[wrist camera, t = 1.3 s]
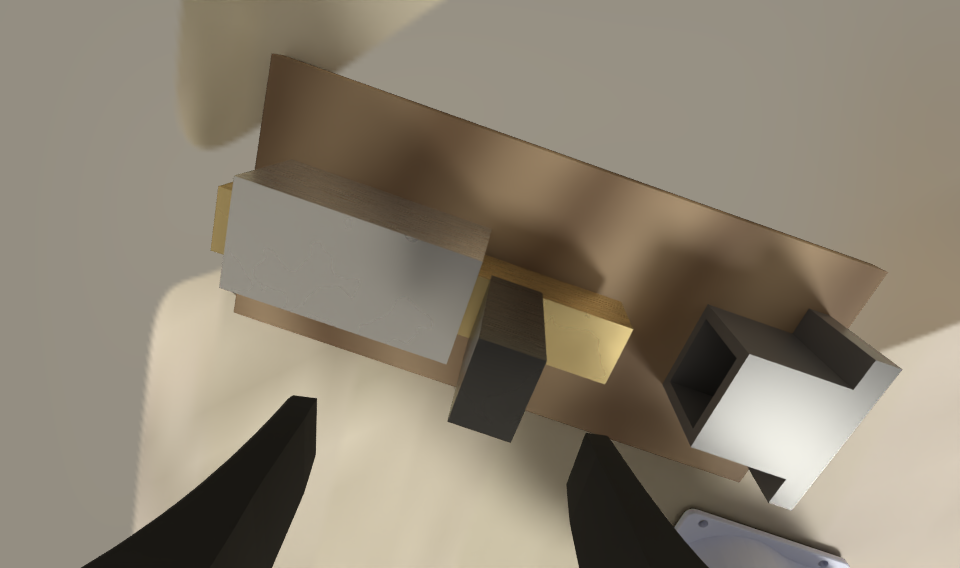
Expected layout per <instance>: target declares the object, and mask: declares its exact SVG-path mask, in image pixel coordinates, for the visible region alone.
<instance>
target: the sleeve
mask: <svg viewBox="0 0 960 568" xmlns="http://www.w3.org/2000/svg"><path fill="white" fill-rule="evenodd" d="M491 230H492V229H490V228H488V227H485V226H482V225H479V224H476V223H473V222H470V221H467V220H465V219H462V218H459V217H456V216H453V215H450V214H447V213H444V212H442V211H439V210H436V209H433V208H430V207H427V206H424V205H422V204H419V203H416V202H413V201H410V200H407V199H404V198H401V197H399V196H396V195H393V194H390V193H387V192H384V191H381V190H378V189H376V188H373V187H370V186H367V185H364V184H361V183H358V182H355V181H353V180H350V179H347V178H344V177H341V176H338V175H335V174H332V173H330V172H327V171H324V170H321V169H318V168H315V167H312V166H310V165H307V164H304V163H301V162H298V161H295V160H292V159H291V160H288V161H284V162H281V163H277V164H274V165H270V166H267V167H263V168H260V169H256V170H253V171H250V172H246V173H242V174H239V175H235V176H234V180H233V188H232V195H231V203H230V210H229V218H228V226H227V233H226V241H225V248H224V256H223V264H222V271H221V279H220V286H219V288H221V289H224V290H227V291H230V292H233V293H236V294H239V295H242V296H245V297H248V298H251V299H254V300H257V301H260V302H263V303H266V304H269V305H272V306H275V307H278V308H281V309H284V310H287V311H290V312H292V313H295V314H298V315H301V316H304V317H307V318H310V319H313V320H316V321H319V322H322V323H325V324H328V325H331V326H334V327H337V328H340V329H343V330H346V331H349V332H352V333H355V334H358V335H361V336H364V337H366V338H369V339H372V340H375V341H378V342H381V343H384V344H387V345H390V346H393V347H396V348H399V349H402V350H405V351H408V352H411V353H414V354H417V355H420V356H423V357H426V358H429V359H432V360H435V361H437V362H440V363H443V364H447V361H448V359H449V356H450V353H451V350H452V347H453V345H454V342H455V339H456V336H457V333H458V330H459V328H460V325H461V322H462V319H463V316H464V313H465V311H466V308H467V305H468V302H469V299H470V297H471V294H472V291H473V288H474V285H475V282H476V280H477V277H478V274H479V271H480V268H481V265H482V263H483V259H484V256H485V252H486V248H487V245H488V241H489V237H490V234H491Z"/></svg>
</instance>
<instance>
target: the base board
mask: <svg viewBox="0 0 960 568" xmlns="http://www.w3.org/2000/svg"><path fill="white" fill-rule="evenodd" d="M291 159H292V160H295V161H298V162H301V163H304V164H307V165H310V166H312V167H315V168H318V169H321V170H324V171H327V172H330V173H332V174H335V175H338V176H341V177H344V178H347V179H350V180H353V181H355V182H358V183H361V184H364V185H367V186H370V187H373V188H376V189H378V190H381V191H384V192H387V193H390V194H393V195H396V196H399V197H401V198H404V199H407V200H410V201H413V202H416V203H419V204H422V205H424V206H427V207H430V208H433V209H436V210H439V211H442V212H444V213H447V214H450V215H453V216H456V217H459V218H462V219H465V220H467V221H470V222H473V223H476V224H479V225H482V226H485V227H488V228H490V229H492V230H491V234H490V237H489V241H488V245H487V248H486V252H485V255H487V256H490V257H493V258H496V259H499V260H502V261H505V262H508V263H511V264H513V265H516V266H519V267H522V268H525V269H528V270H531V271H534V272H537V273H539V274H542V275H545V276H548V277H551V278H554V279H557V280H560V281H562V282H565V283H568V284H571V285H574V286H577V287H580V288H583V289H586V290H588V291H591V292H594V293H597V294H600V295H603V296H606V297H609V298H612V299H614V300H617V301H620V302H622V305H623V307H624V309H625V311H626V314H627V316H628V318H629V321H630V323H631V325H632V327H633V331H632V333H631V335H630V337H629V339H628V341H627V343H626V345H625V347H624V349H623V351H622V352H621V354H620V356H619V358H618V360H617V362H616V364H615V366H614V368H613V370H612V372H611V374H610V376H609V378H608V380H607V382H606V384H602V383H599V382H596V381H593V380H590V379H587V378H584V377H582V376H579V375H576V374H573V373H570V372H567V371H564V370H561V369H558V368H555V367H552V366H549V365H545V367H544V369H543V371H542V373H541V376H540V378H539V380H538V382H537V385H536V387H535V389H534V391H533V394H532V396H531V398H530V400H529V403H528V405H527V407H526V409H525V410H526V411H529V412H532V413H535V414H538V415H541V416H543V417H546V418H549V419H552V420H555V421H558V422H561V423H564V424H567V425H570V426H573V427H576V428H579V429H582V430H585V431H588V432H591V433H594V434H598V435H606V436H608V437H609V439H612V440H615V441H618V442H621V443H624V444H627V445H630V446H633V447H636V448H639V449H642V450H645V451H647V452H650V453H653V454H656V455H659V456H662V457H665V458H668V459H671V460H674V461H677V462H680V463H683V464H686V465H689V466H692V467H695V468H698V469H701V470H704V471H707V472H710V473H713V474H716V475H719V476H722V477H725V478H728V479H731V480H734V481H737V482H740V481H741V479H742V478H743V477H744V475H745V474H746V472H747V471H748V470H749V469H748V467H747V466H745V465H742V464H739V463H736V462H733V461H730V460H728V459H725V458H722V457H719V456H716V455H713V454H710V453H707V452H704V451H701V450H698V449H695V448H692V447H690V444H689V442H688V440H687V438H686V436H685V433H684V431H683V429H682V427H681V424H680V422H679V420H678V418H677V416H676V413H675V411H674V409H673V407H672V405H671V402H670V400H669V398H668V396H667V394H666V391H665V389H664V387H663V385H662V384H663V382H664V380H665V379H666V377H667V375H668V373H669V372H670V370H671V368H672V366H673V365H674V363H675V361H676V359H677V358H678V356H679V354H680V352H681V350H682V349H683V347H684V345H685V343H686V342H687V340H688V338H689V336H690V335H691V333H692V331H693V329H694V328H695V326H696V324H697V322H698V321H699V319H700V317H701V315H702V313H703V312H704V310H705V308H706V306H707V305H708V304H709V305H712V306H714V307H717V308H720V309H723V310H726V311H729V312H732V313H734V314H737V315H740V316H743V317H746V318H749V319H752V320H755V321H757V322H760V323H763V324H766V325H769V326H772V327H775V328H778V329H780V330H783V331H786V332H789V333H793V332H794V330H795V329H796V327H797V326H798V324H799V323H800V321H801V320H802V318H803V317H804V315H805V314H806V312H807V311H808V309H812V310H815V311H818V312H821V313H824V314H826V315H829V316H831V317H833V318H834V319H835V320H837V321H838V322H839V323H841V324H842V325H843V326H845V327H846V328H847V329H848V328H849V327H850V325H851V324H852V322H853V321H854V320H855V318H856V316H857V315H858V314H859V312H860V311H861V310H862V308H863V307H864V306H865V304H866V303H867V301H868V300H869V298H870V297H871V296H872V294H873V293H874V291H875V290H876V289H877V287H878V286H879V284H880V283H881V281H882V280H883V279H884V277H885V276H886V274H887V273H888V272H886V271H884V270H882V269H880V268H878V267H876V266H875V265H873V264H870V263H867V262H864V261H861V260H858V259H856V258H853V257H850V256H847V255H844V254H842V253H839V252H836V251H833V250H830V249H827V248H825V247H822V246H819V245H816V244H813V243H810V242H808V241H805V240H802V239H799V238H797V237H794V236H791V235H788V234H785V233H783V232H780V231H777V230H774V229H771V228H768V227H766V226H763V225H760V224H757V223H754V222H751V221H749V220H746V219H743V218H740V217H737V216H734V215H732V214H729V213H726V212H723V211H721V210H718V209H715V208H712V207H709V206H706V205H703V204H701V203H698V202H695V201H692V200H689V199H687V198H684V197H681V196H678V195H675V194H673V193H670V192H667V191H664V190H661V189H659V188H656V187H653V186H650V185H647V184H644V183H642V182H639V181H636V180H633V179H630V178H627V177H625V176H622V175H619V174H616V173H613V172H611V171H608V170H605V169H602V168H599V167H597V166H594V165H591V164H588V163H585V162H582V161H580V160H577V159H574V158H571V157H569V156H566V155H563V154H560V153H557V152H554V151H552V150H549V149H546V148H543V147H540V146H538V145H535V144H532V143H529V142H526V141H523V140H521V139H518V138H515V137H512V136H509V135H506V134H504V133H501V132H498V131H495V130H492V129H490V128H487V127H484V126H481V125H478V124H476V123H473V122H470V121H467V120H464V119H461V118H458V117H456V116H453V115H450V114H447V113H444V112H442V111H439V110H436V109H433V108H430V107H428V106H425V105H422V104H419V103H416V102H414V101H411V100H408V99H405V98H402V97H399V96H397V95H394V94H391V93H388V92H385V91H382V90H379V89H377V88H374V87H371V86H369V85H366V84H363V83H360V82H357V81H354V80H351V79H349V78H346V77H343V76H340V75H338V74H335V73H332V72H329V71H326V70H324V69H321V68H318V67H315V66H312V65H309V64H307V63H304V62H301V61H298V60H295V59H293V58H290V57H287V56H284V55H278V54H272V56H271V63H270V70H269V76H268V83H267V90H266V97H265V104H264V110H263V117H262V124H261V131H260V138H259V144H258V152H257V158H256V165H255V170H256V169H260V168H263V167H267V166H270V165H274V164H277V163H281V162H284V161H288V160H291ZM234 312H235V313H237V314H240V315H243V316H246V317H249V318H252V319H255V320H258V321H261V322H264V323H267V324H270V325H273V326H276V327H279V328H282V329H285V330H288V331H291V332H294V333H297V334H300V335H303V336H306V337H309V338H312V339H315V340H318V341H321V342H324V343H327V344H330V345H333V346H336V347H338V348H341V349H344V350H347V351H350V352H353V353H356V354H359V355H362V356H365V357H368V358H371V359H374V360H377V361H380V362H383V363H386V364H389V365H392V366H395V367H398V368H401V369H404V370H407V371H410V372H413V373H416V374H419V375H422V376H425V377H428V378H431V379H434V380H437V381H440V382H442V383H445V384H448V385H451V386H454V387H456V385H457V381H458V377H459V373H460V369H461V365H462V361H463V357H464V353H465V349H466V345H467V341H468V339H469V338H467V337H464V336H461V335H458V334H457V336H456V339H455V342H454V345H453V347H452V350H451V353H450V356H449V359H448V361H447V364H443V363H440V362H437V361H435V360H432V359H429V358H426V357H423V356H420V355H417V354H414V353H411V352H408V351H405V350H402V349H399V348H396V347H393V346H390V345H387V344H384V343H381V342H378V341H375V340H372V339H369V338H366V337H364V336H361V335H358V334H355V333H352V332H349V331H346V330H343V329H340V328H337V327H334V326H331V325H328V324H325V323H322V322H319V321H316V320H313V319H310V318H307V317H304V316H301V315H298V314H295V313H292V312H290V311H287V310H284V309H281V308H278V307H275V306H272V305H269V304H266V303H263V302H260V301H257V300H254V299H251V298H248V297H245V296H242V295H239V294H236V300H235V307H234Z"/></svg>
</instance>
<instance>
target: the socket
mask: <svg viewBox="0 0 960 568" xmlns="http://www.w3.org/2000/svg"><path fill="white" fill-rule="evenodd" d="M901 371H902V369H901V368H900V367H898V366H897V365H896V364H894V363H893V362H892V361H890V360H889V359H888V358H886V357H885V356H884V355H882V354H881V353H880V352H878V351H877V350H876V349H874V348H873V347H871V346H870V345H868V344H867V343H866V342H865V341H863V340H862V339H861V338H859V337H858V336H857V335H855V334H854V333H853V332H851V331H850V330H849V329H847V328H846V327H845V326H843V325H842V324H841V323H839V322H838V321H837V320H835V319H834V318H833V317H831V316H829V315H826V314H824V313H821V312H818V311H815V310H812V309H808V311H807V312H806V314H805V315H804V317H803V318H802V320H801V321H800V323H799V324H798V326H797V327H796V329H795V330H794V332H793V333H789V332H786V331H783V330H780V329H778V328H775V327H772V326H769V325H766V324H763V323H760V322H757V321H755V320H752V319H749V318H746V317H743V316H740V315H737V314H734V313H732V312H729V311H726V310H723V309H720V308H717V307H714V306H712V305H709V304H708V305H707V306H706V308H705V310H704V312H703V313H702V315H701V317H700V319H699V321H698V322H697V324H696V326H695V328H694V329H693V331H692V333H691V335H690V336H689V338H688V340H687V342H686V343H685V345H684V347H683V349H682V350H681V352H680V354H679V356H678V358H677V359H676V361H675V363H674V365H673V366H672V368H671V370H670V372H669V373H668V375H667V377H666V379H665V380H664V382H663V384H662V385H663V387H664V389H665V391H666V394H667V396H668V398H669V400H670V402H671V405H672V407H673V409H674V411H675V413H676V416H677V418H678V420H679V422H680V424H681V427H682V429H683V431H684V433H685V436H686V438H687V440H688V442H689V444H690V447H692V448H695V449H698V450H701V451H704V452H707V453H710V454H713V455H716V456H719V457H722V458H725V459H728V460H730V461H733V462H736V463H739V464H742V465H745V466H747V467H748V469H749V470H750V472H751V474H752V475H753V477H754V479H755V481H756V482H757V484H758V486H759V487H760V489H761V491H762V493H763V494H764V496H765V498H766V500H767V501H768V503H770V504H773V505H776V506H779V507H782V508H785V509H788V510H791V511H792V509H793V508H794V507H795V506H796V504H797V503H798V502H799V501H800V499H801V498H802V497H803V495H804V494H805V493H806V492H807V490H808V489H809V488H810V487H811V485H812V484H813V483H814V481H815V480H816V479H817V478H818V476H819V475H820V474H821V473H822V471H823V470H824V469H825V467H826V466H827V465H828V464H829V462H830V461H831V460H832V459H833V457H834V456H835V455H836V453H837V452H838V451H839V450H840V448H841V447H842V446H843V445H844V443H845V442H846V441H847V439H848V438H849V437H850V436H851V434H852V433H853V432H854V431H855V429H856V428H857V427H858V425H859V424H860V423H861V422H862V420H863V419H864V418H865V417H866V415H867V414H868V413H869V411H870V410H871V409H872V408H873V406H874V405H875V404H876V403H877V401H878V400H879V399H880V397H881V396H882V395H883V394H884V392H885V391H886V390H887V389H888V387H889V386H890V385H891V383H892V382H893V381H894V380H895V378H896V377H897V376H898V375H899V373H900V372H901Z"/></svg>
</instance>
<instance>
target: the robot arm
mask: <svg viewBox="0 0 960 568" xmlns="http://www.w3.org/2000/svg"><path fill="white" fill-rule="evenodd" d="M316 418H317V398H310V397H302V396H294V395H293V396H291V397H290V398H288V400H287V401H286V402H285V403H284V404H283V405H282V406H281V407H280V408H279V409H278V411H277V412H276V413H275V414H274V415H273V416H272V417H271V418H270V419H269V420H268V421H267V422H266V423H265V424H264V425H263V426H262V427H261V428H260V429H259V430H258V431H257V433H256V434H255V435H253V436H252V437H251V438H250V439H249V440H248V441H247V442H246V443H245V444H244V445H243V446H242V447H241V448H240V449H239V450H238V451H237V452H236V453H235V454H234V455H233V456H232V457H231V458H229V459H228V460H227V461H226V462H225V463H224V464H223V465H222V466H220V467H219V468H218V469H217V470H216V471H215V472H214V473H212V474H211V475H210V476H209V477H208V478H207V479H206V480H204V481H203V482H202V483H201V484H200V485H198V486H197V487H196V488H195V489H194V490H192V491H191V492H190V493H189V494H187V495H186V496H185V497H184V498H182V499H181V500H180V501H179V502H177V503H176V504H175V505H173V506H172V507H171V508H169V509H168V510H167V511H165V512H164V513H163V514H161V515H160V516H159V517H157V518H156V519H154V520H153V521H152V522H150V523H149V524H147V525H146V526H144V527H143V528H142V529H140V530H139V531H137V532H136V533H134V534H133V535H132V536H130V537H129V538H127V539H126V540H124V541H123V542H121V543H120V544H118V545H117V546H115V547H114V548H112V549H111V550H109V551H107V552H106V553H104V554H102V555H101V556H99V557H98V558H96V559H94V560H93V561H91V562H89V563H88V564H86V565H85V566H83V567H81V568H272V566H273V564H274V562H275V559H276V557H277V555H278V552H279V550H280V548H281V545H282V543H283V541H284V539H285V536H286V534H287V532H288V529H289V527H290V525H291V522H292V520H293V518H294V515H295V513H296V511H297V508H298V506H299V504H300V501H301V499H302V496H303V494H304V491H305V488H306V485H307V482H308V479H309V475H310V472H311V469H312V465H313V462H314V459H315V455H316ZM567 497H568V508H569V518H570V525H571V531H572V535H573V540H574V545H575V550H576V555H577V560H578V564H579V568H850V566H849V565H848V563H847V562H846V560H845V559H843V558H841V557H838V556H835V555H832V554H829V553H826V552H823V551H820V550H817V549H814V548H811V547H808V546H805V545H802V544H799V543H796V542H793V541H790V540H787V539H784V538H781V537H778V536H775V535H772V534H769V533H766V532H763V531H760V530H757V529H754V528H751V527H748V526H745V525H742V524H739V523H736V522H733V521H730V520H727V519H724V518H721V517H718V516H715V515H712V514H709V513H706V512H703V511H700V510H697V509H689V510H687V511H685V512H684V514H683V515H682V517H681V518H680V520H679V521H678V523H677V524H676V526H675V527H673V526H672V524H671V523H670V522H669V521H668V520H667V518H666V517H665V516H664V514H663V513H662V512H661V511H660V509H659V508H658V507H657V505H656V504H655V502H654V501H653V500H652V498H651V497H650V496H649V494H648V493H647V492H646V490H645V489H644V487H643V486H642V485H641V483H640V482H639V480H638V479H637V478H636V476H635V475H634V473H633V472H632V470H631V469H630V468H629V466H628V465H627V463H626V462H625V460H624V459H623V457H622V456H621V454H620V453H619V452H618V450H617V449H616V447H615V446H614V444H613V443H612V441H611V440H610V439H609V437H608V436H606V435H598V434H590V433H586V434H585V436H584V439H583V442H582V444H581V447H580V450H579V452H578V455H577V458H576V460H575V463H574V466H573V468H572V471H571V474H570V476H569V479H568V482H567ZM702 520H704V521H702ZM700 521H702V522H700Z"/></svg>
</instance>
